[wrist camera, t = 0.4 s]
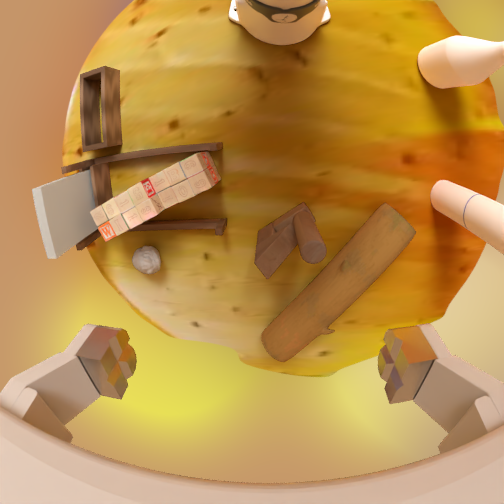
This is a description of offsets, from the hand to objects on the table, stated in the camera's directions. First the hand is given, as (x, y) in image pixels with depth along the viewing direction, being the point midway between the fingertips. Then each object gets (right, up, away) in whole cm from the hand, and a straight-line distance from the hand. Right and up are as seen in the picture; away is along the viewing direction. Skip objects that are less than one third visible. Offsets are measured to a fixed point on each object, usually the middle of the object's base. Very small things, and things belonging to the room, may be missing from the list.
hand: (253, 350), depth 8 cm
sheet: (-32, +15, +46) cm, 58 cm away
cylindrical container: (+41, +15, +41) cm, 60 cm away
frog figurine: (-21, +3, +51) cm, 55 cm away
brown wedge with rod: (+6, +9, +47) cm, 48 cm away
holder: (-29, +32, +38) cm, 58 cm away
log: (+17, -2, +51) cm, 54 cm away
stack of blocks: (-17, +16, +45) cm, 51 cm away
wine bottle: (+37, +41, +30) cm, 63 cm away
